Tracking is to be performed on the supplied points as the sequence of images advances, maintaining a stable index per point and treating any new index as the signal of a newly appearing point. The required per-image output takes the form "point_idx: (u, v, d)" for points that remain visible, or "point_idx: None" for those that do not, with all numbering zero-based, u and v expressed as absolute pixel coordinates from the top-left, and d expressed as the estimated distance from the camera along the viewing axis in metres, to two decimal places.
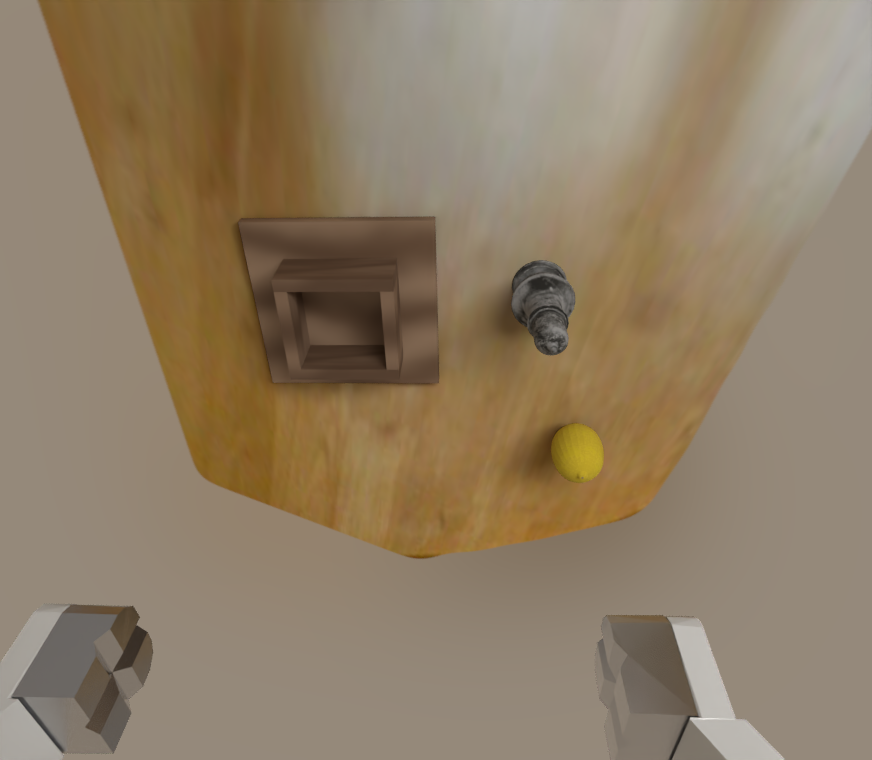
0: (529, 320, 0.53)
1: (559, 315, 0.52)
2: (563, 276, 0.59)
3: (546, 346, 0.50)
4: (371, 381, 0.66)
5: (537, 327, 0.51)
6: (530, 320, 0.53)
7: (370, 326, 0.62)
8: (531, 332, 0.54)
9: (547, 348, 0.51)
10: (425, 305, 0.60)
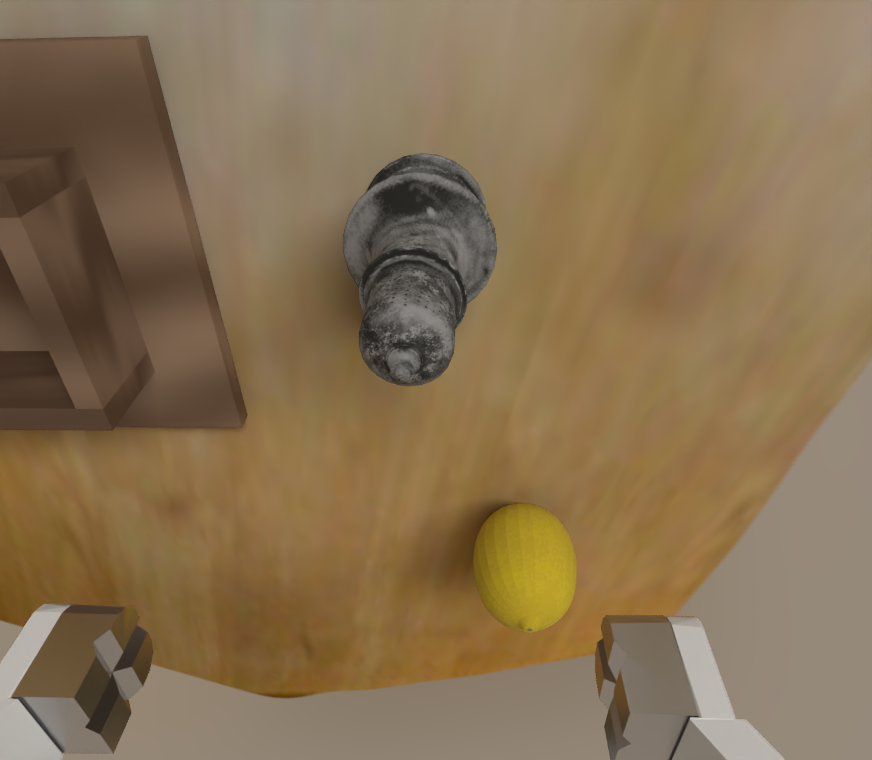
0: (363, 290, 0.20)
1: (435, 276, 0.19)
2: (476, 193, 0.25)
3: (387, 361, 0.17)
4: None
5: (368, 307, 0.18)
6: (364, 290, 0.20)
7: None
8: None
9: (390, 368, 0.17)
10: (170, 262, 0.27)
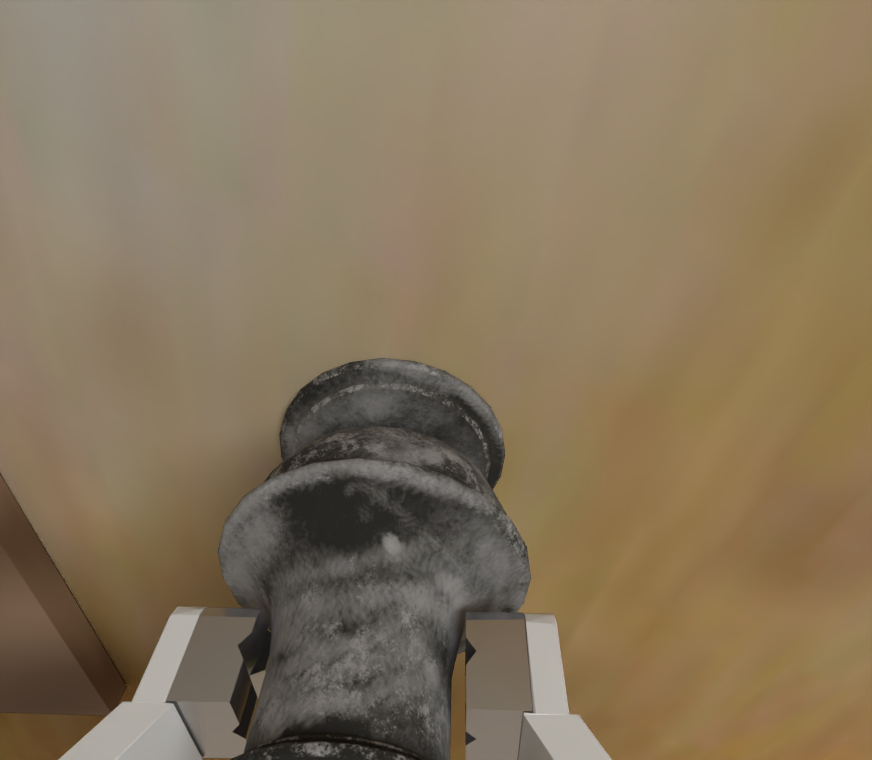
0: None
1: None
2: (487, 423, 0.14)
3: None
4: None
5: None
6: None
7: None
8: None
9: None
10: None
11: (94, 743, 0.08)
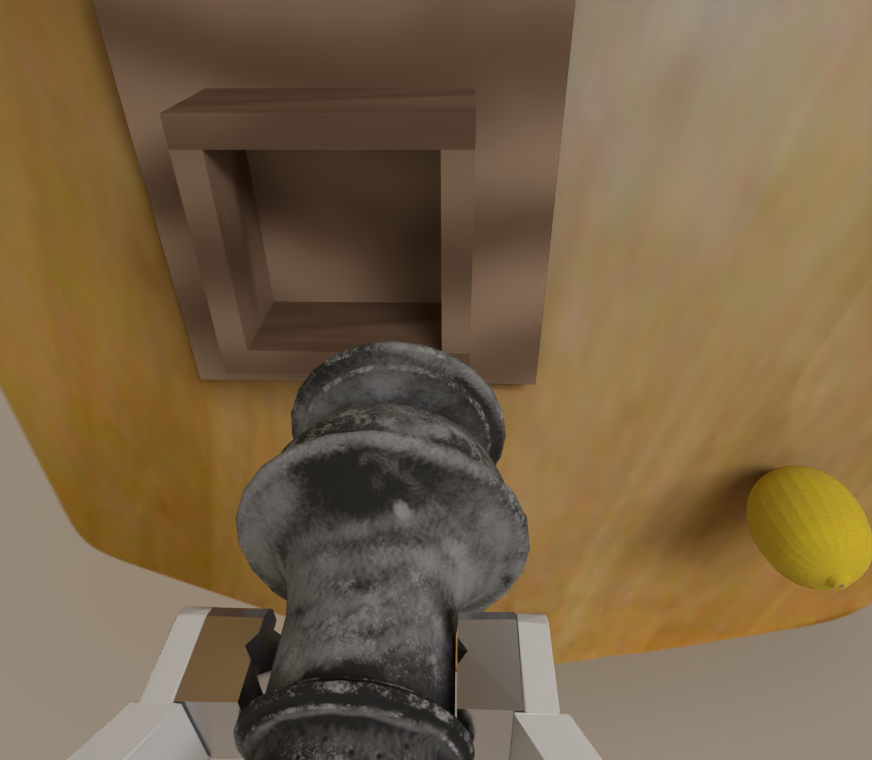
0: (241, 740, 0.09)
1: None
2: (489, 405, 0.14)
3: None
4: None
5: None
6: (242, 745, 0.09)
7: (402, 259, 0.28)
8: None
9: None
10: (527, 210, 0.27)
11: (103, 743, 0.08)
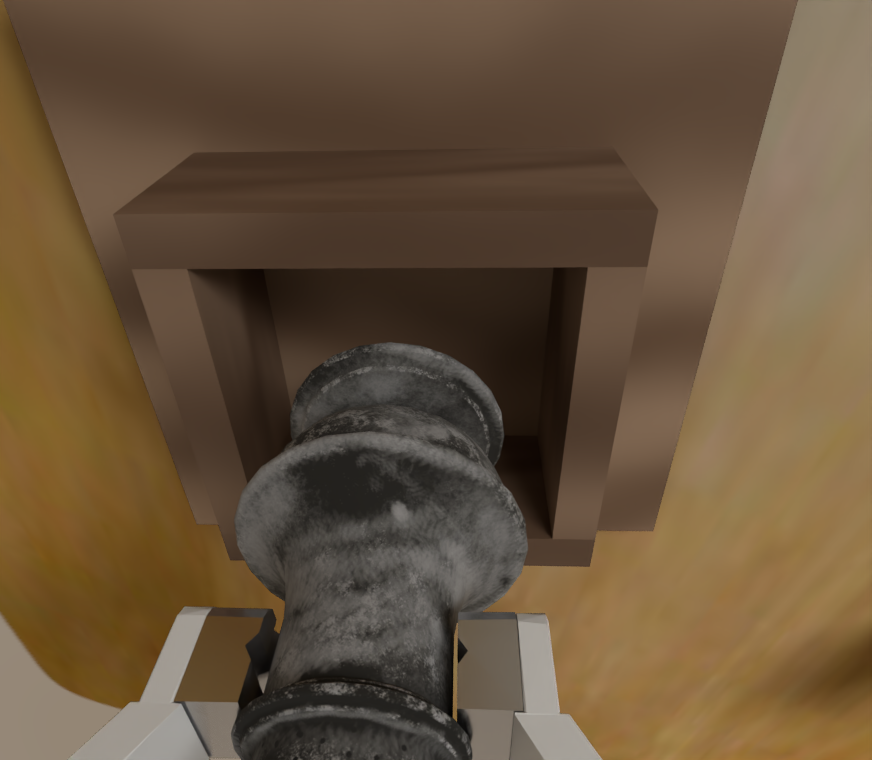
0: (239, 742, 0.09)
1: None
2: (488, 406, 0.14)
3: None
4: None
5: None
6: (240, 746, 0.09)
7: None
8: None
9: None
10: (671, 318, 0.18)
11: (103, 744, 0.08)
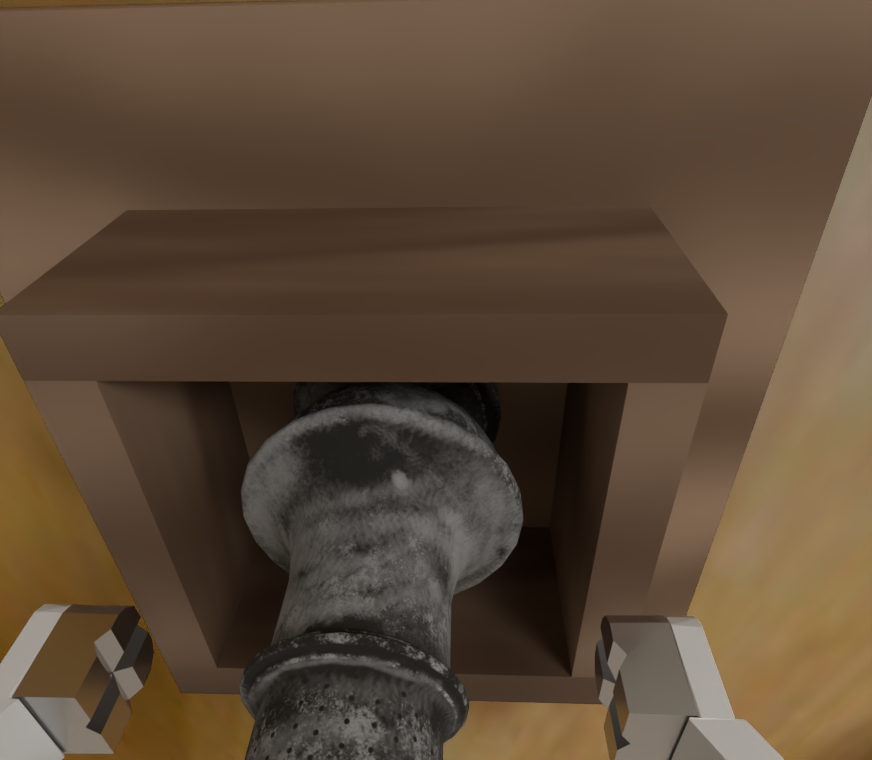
0: (246, 693, 0.09)
1: (397, 711, 0.08)
2: (485, 386, 0.15)
3: None
4: None
5: None
6: (247, 697, 0.09)
7: None
8: None
9: None
10: (714, 402, 0.15)
11: None
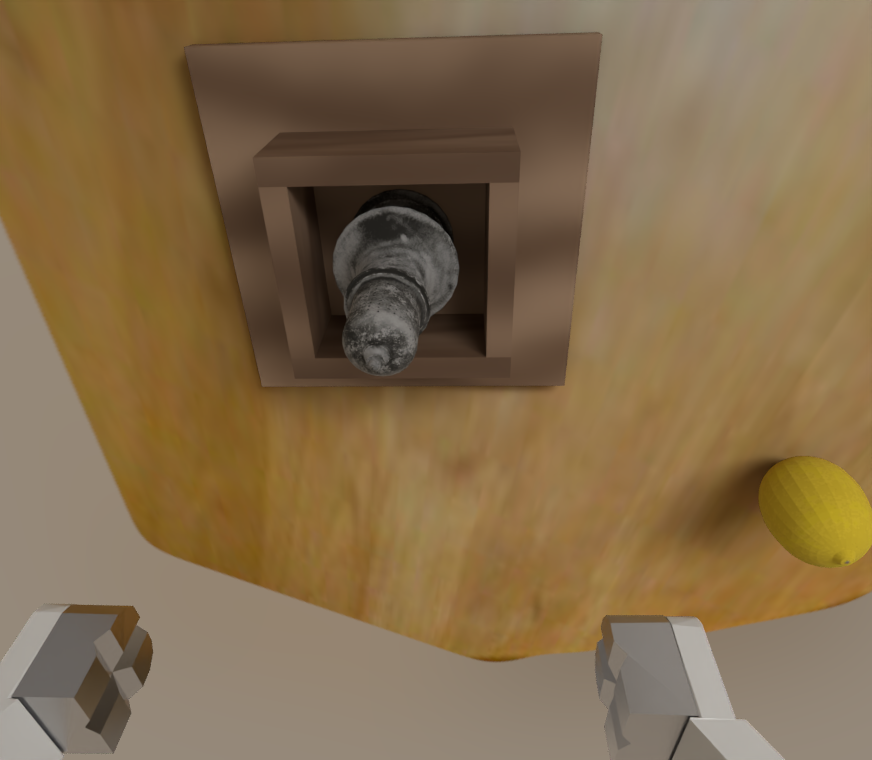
0: (346, 300, 0.25)
1: (404, 289, 0.24)
2: (444, 222, 0.30)
3: (364, 355, 0.22)
4: (441, 383, 0.36)
5: (349, 313, 0.23)
6: (347, 300, 0.25)
7: None
8: None
9: (365, 361, 0.22)
10: (557, 230, 0.31)
11: None
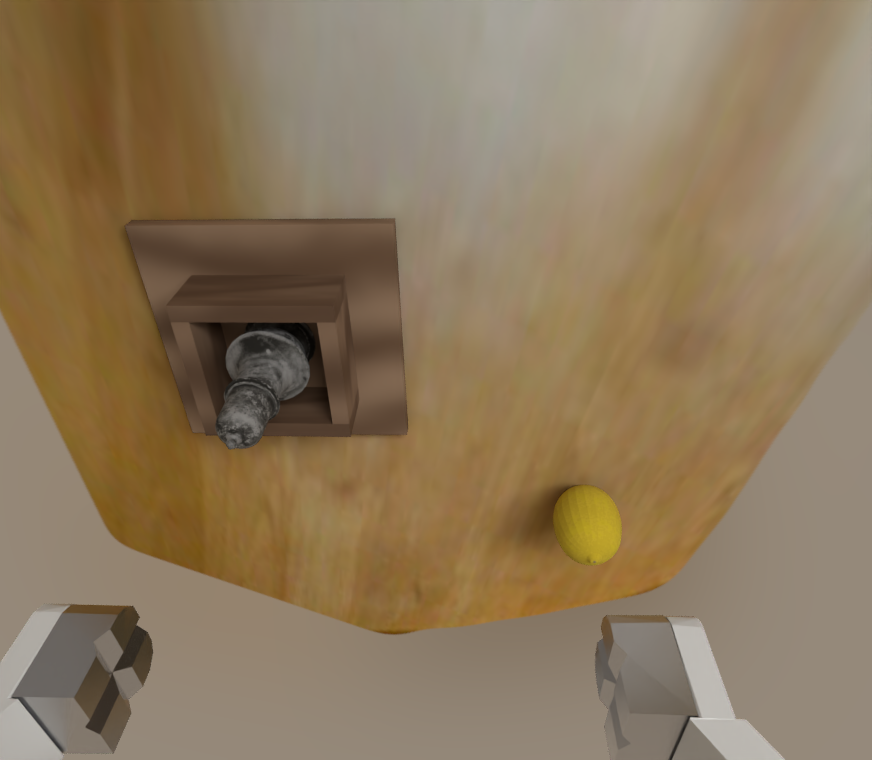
0: (225, 396, 0.39)
1: (258, 393, 0.38)
2: (307, 330, 0.45)
3: (226, 438, 0.36)
4: None
5: None
6: (226, 396, 0.39)
7: (314, 363, 0.46)
8: None
9: None
10: (385, 336, 0.45)
11: None
